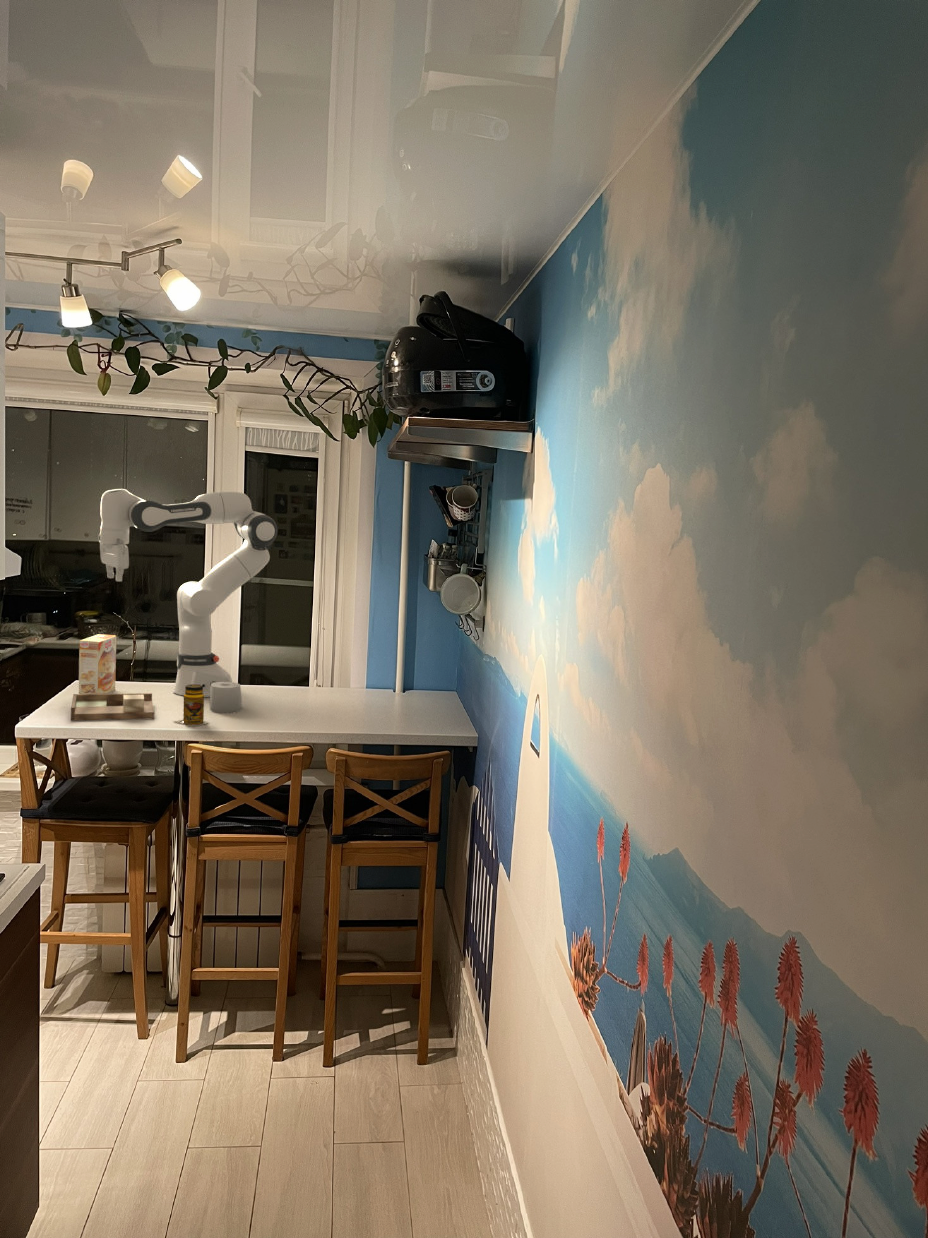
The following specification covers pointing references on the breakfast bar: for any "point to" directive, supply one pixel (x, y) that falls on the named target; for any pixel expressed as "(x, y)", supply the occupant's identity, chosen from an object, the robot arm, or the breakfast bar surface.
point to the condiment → (193, 706)
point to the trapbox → (107, 707)
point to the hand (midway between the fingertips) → (114, 579)
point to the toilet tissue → (225, 697)
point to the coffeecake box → (97, 664)
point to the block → (133, 703)
